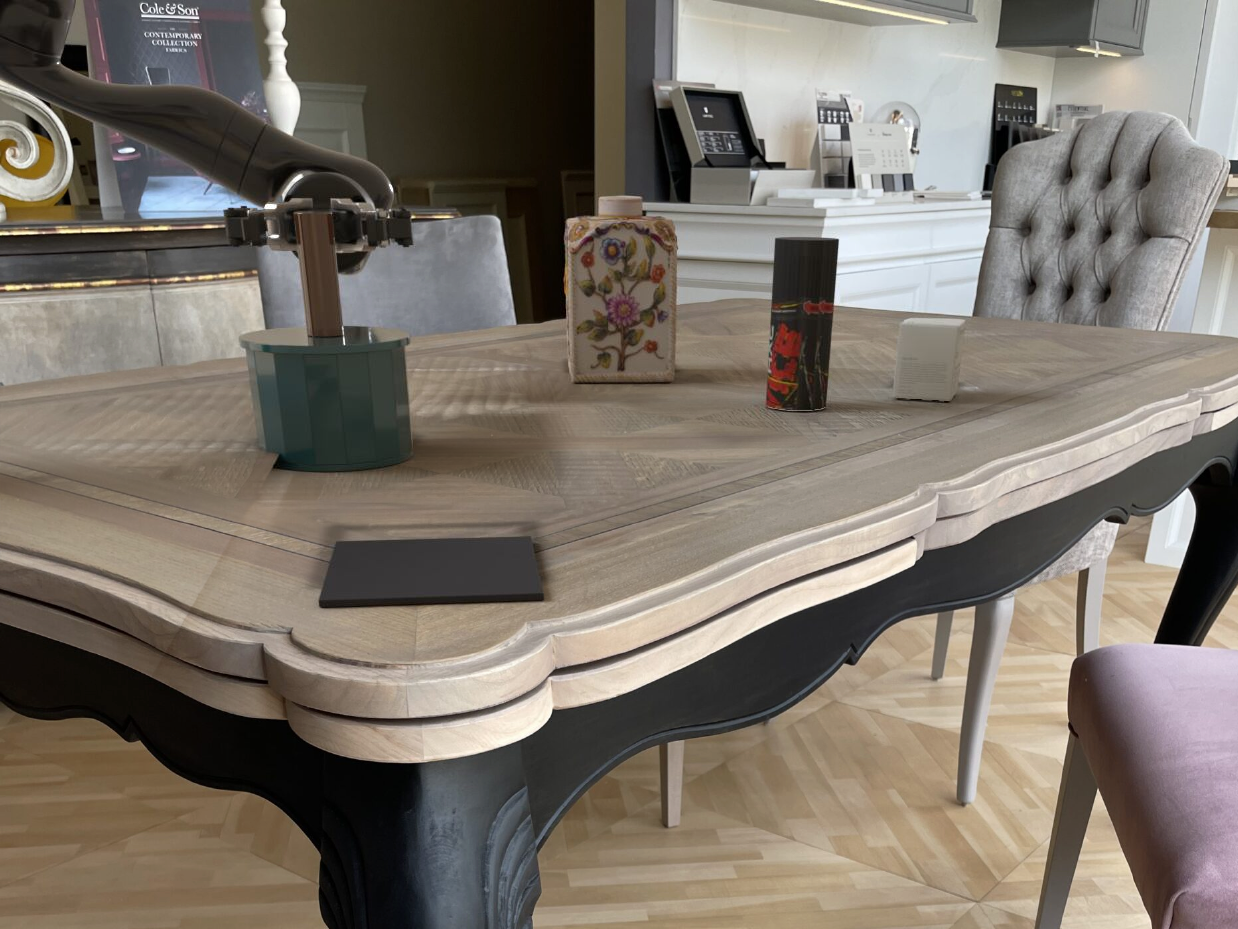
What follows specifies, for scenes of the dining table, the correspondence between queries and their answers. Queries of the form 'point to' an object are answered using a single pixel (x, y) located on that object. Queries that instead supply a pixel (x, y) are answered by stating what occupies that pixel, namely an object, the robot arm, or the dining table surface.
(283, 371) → the canister
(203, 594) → the dining table surface
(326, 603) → the mat
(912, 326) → the product box
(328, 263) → the lid
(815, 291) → the deodorant
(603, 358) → the decorative jar
